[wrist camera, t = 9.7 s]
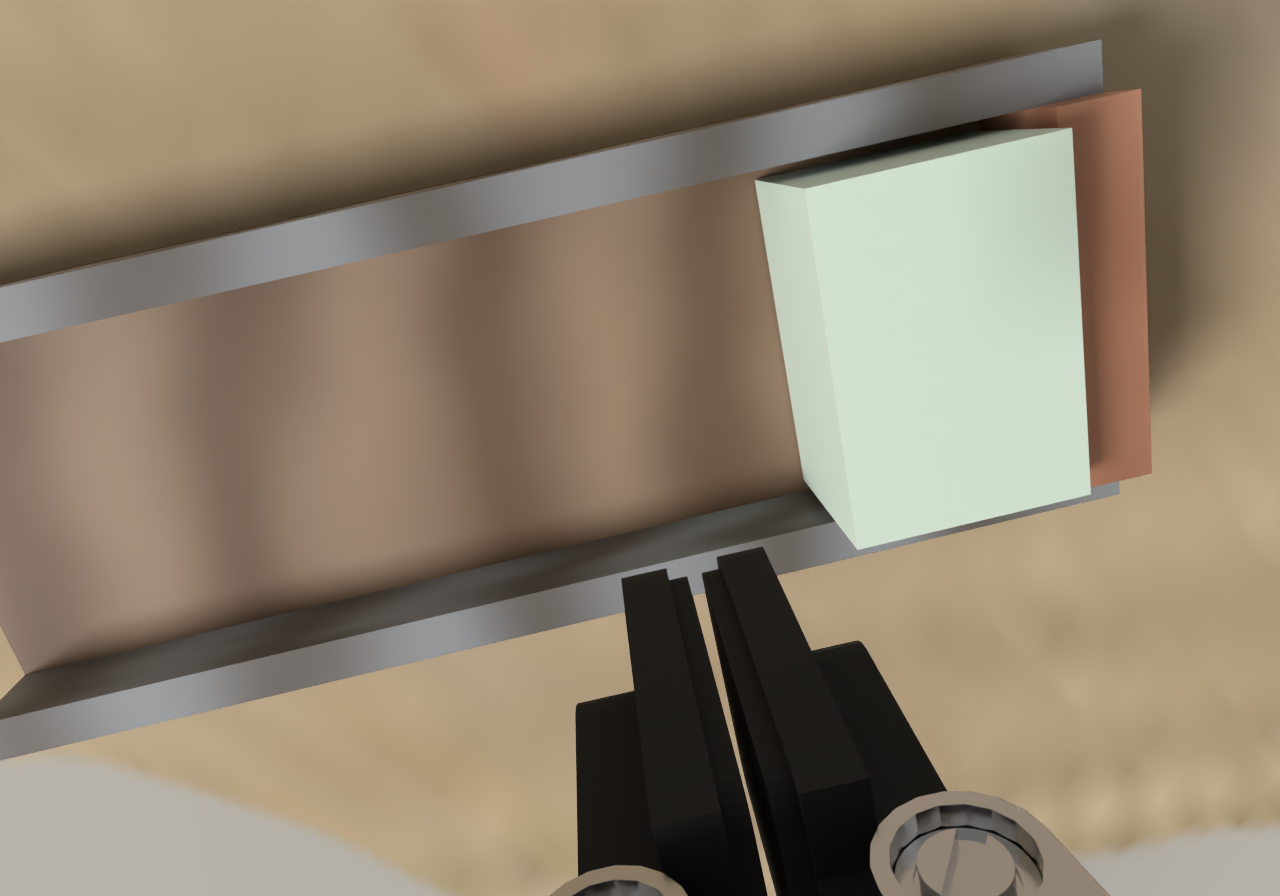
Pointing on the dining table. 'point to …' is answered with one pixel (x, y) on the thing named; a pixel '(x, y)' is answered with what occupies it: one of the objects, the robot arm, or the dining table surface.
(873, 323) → the sliding block
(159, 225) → the dining table surface
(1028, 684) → the dining table surface
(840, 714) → the robot arm
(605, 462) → the track
